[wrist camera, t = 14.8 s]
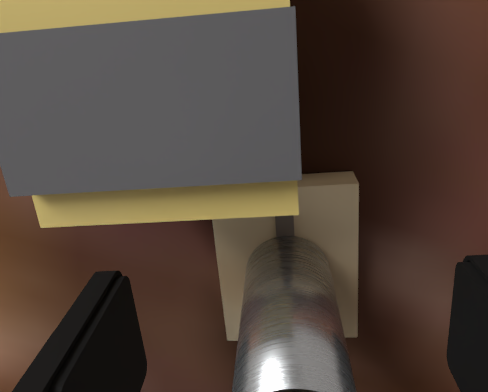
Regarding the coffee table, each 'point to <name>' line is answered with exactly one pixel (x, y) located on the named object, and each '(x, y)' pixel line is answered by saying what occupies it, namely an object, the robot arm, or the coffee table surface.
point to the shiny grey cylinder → (290, 323)
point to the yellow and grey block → (150, 109)
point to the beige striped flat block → (305, 226)
